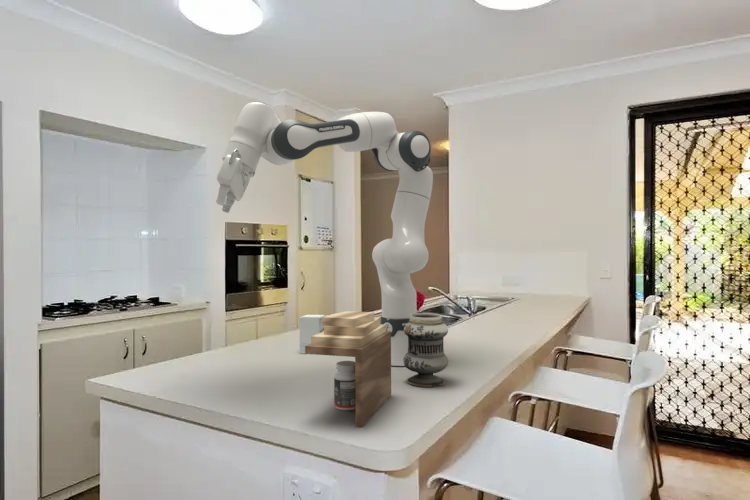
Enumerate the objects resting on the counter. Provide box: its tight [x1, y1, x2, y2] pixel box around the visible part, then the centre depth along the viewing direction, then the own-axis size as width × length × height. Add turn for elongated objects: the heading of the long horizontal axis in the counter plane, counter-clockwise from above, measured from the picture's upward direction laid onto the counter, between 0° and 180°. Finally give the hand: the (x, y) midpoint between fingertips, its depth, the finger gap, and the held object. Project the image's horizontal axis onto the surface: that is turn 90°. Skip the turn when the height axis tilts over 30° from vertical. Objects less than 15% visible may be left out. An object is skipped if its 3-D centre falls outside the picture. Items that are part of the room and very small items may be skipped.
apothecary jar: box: [403, 312, 449, 388], centre depth 129 cm, size 12×12×18 cm
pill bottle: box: [333, 360, 356, 411], centre depth 109 cm, size 6×6×10 cm
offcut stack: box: [311, 310, 386, 348], centre depth 108 cm, size 11×19×5 cm, turn 163°
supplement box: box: [299, 314, 326, 355], centre depth 167 cm, size 7×7×13 cm
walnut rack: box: [304, 331, 392, 428], centre depth 108 cm, size 12×22×16 cm, turn 163°
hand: (222, 208), depth 124 cm, fingers open, 8 cm apart
